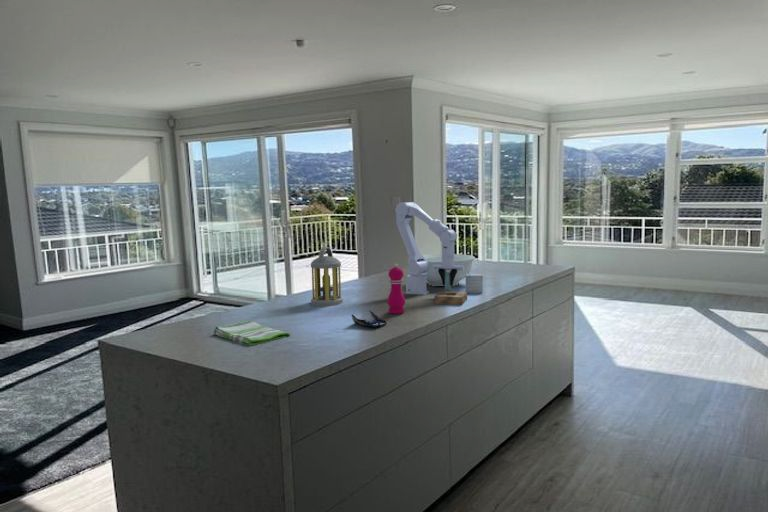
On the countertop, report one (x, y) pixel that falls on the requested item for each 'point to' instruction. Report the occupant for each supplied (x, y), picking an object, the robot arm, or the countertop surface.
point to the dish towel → (249, 333)
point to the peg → (447, 281)
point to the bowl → (459, 259)
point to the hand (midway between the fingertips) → (447, 285)
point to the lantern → (326, 279)
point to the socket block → (450, 297)
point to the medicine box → (474, 283)
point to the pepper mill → (396, 291)
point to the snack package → (370, 322)
